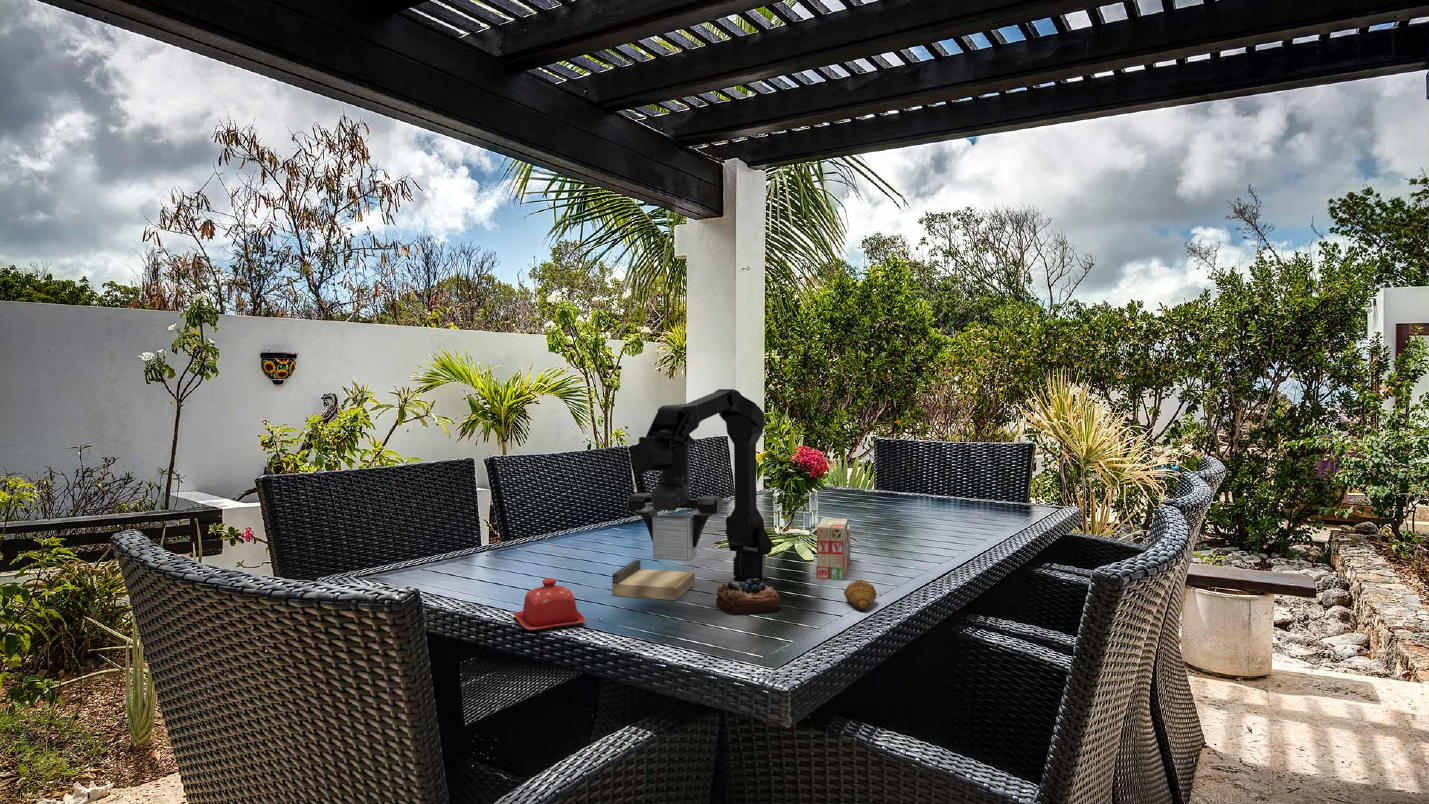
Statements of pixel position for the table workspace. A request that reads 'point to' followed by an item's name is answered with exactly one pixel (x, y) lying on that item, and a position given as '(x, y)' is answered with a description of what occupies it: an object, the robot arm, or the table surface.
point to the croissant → (860, 595)
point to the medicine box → (673, 537)
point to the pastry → (747, 598)
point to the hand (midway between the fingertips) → (674, 546)
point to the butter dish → (549, 607)
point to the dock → (650, 582)
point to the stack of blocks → (832, 548)
